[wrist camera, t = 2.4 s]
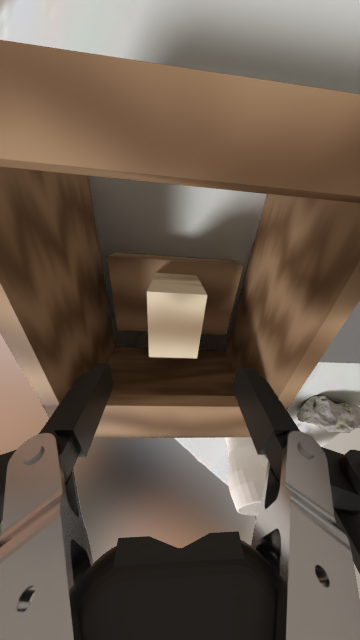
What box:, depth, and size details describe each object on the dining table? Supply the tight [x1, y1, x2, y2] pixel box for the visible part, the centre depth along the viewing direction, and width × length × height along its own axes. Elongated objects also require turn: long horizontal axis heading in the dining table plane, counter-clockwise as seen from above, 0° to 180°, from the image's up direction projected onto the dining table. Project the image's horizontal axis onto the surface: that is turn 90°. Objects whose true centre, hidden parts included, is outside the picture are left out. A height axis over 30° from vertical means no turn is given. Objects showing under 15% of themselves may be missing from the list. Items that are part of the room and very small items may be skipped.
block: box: [147, 273, 207, 358], centre depth 18 cm, size 7×5×7 cm
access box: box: [0, 40, 360, 438], centre depth 18 cm, size 26×24×14 cm
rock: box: [297, 396, 360, 433], centre depth 37 cm, size 16×7×7 cm, turn 85°
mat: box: [319, 301, 360, 363], centre depth 28 cm, size 18×18×1 cm
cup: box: [225, 437, 268, 515], centre depth 37 cm, size 11×11×15 cm
